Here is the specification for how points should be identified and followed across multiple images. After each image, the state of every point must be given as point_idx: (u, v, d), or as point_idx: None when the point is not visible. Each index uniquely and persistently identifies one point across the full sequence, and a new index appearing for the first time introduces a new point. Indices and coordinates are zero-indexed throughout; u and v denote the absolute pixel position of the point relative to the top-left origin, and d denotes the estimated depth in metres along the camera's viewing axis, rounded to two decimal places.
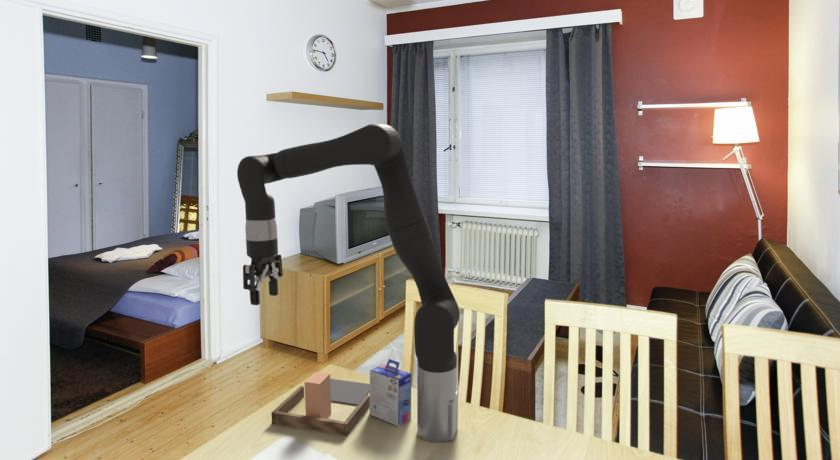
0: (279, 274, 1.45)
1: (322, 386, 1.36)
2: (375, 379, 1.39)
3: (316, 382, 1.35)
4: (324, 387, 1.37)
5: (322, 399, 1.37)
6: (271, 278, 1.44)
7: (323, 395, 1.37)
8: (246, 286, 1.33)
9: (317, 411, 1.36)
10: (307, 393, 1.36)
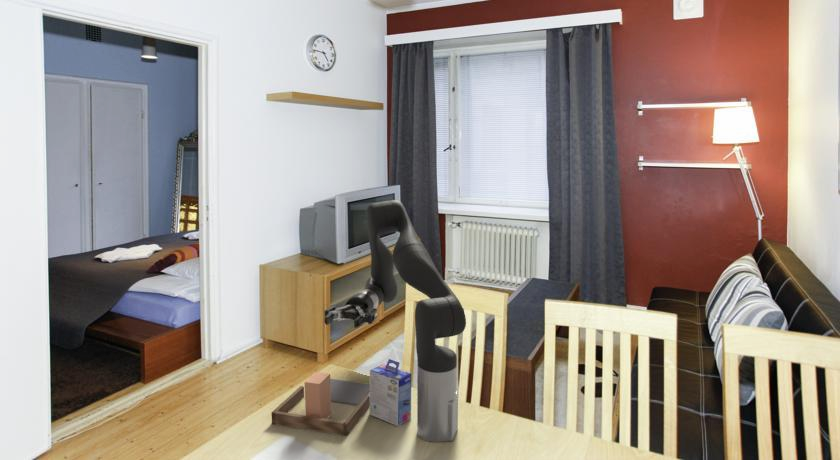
0: None
1: (322, 386, 1.36)
2: (375, 379, 1.39)
3: (316, 382, 1.35)
4: (324, 387, 1.37)
5: (322, 399, 1.37)
6: None
7: (323, 395, 1.37)
8: None
9: (317, 411, 1.36)
10: (307, 394, 1.36)
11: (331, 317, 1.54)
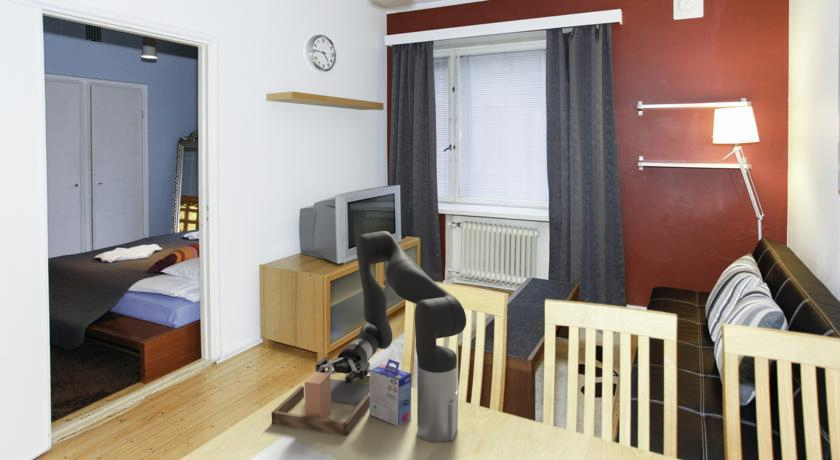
0: None
1: (322, 386, 1.36)
2: (375, 379, 1.39)
3: (316, 382, 1.35)
4: (324, 387, 1.37)
5: (322, 399, 1.37)
6: None
7: (323, 395, 1.37)
8: None
9: (317, 411, 1.36)
10: (307, 393, 1.36)
11: (322, 372, 1.50)
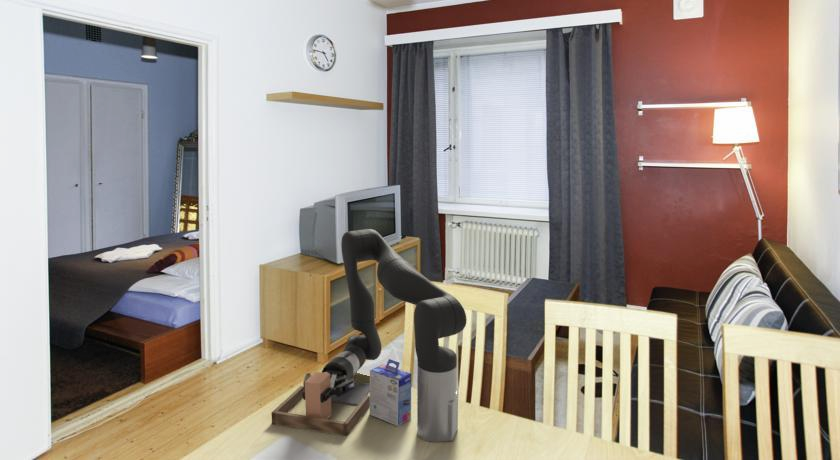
0: None
1: (322, 386, 1.36)
2: (375, 379, 1.39)
3: (316, 382, 1.35)
4: (324, 387, 1.37)
5: None
6: None
7: None
8: None
9: (317, 411, 1.36)
10: (307, 393, 1.36)
11: None
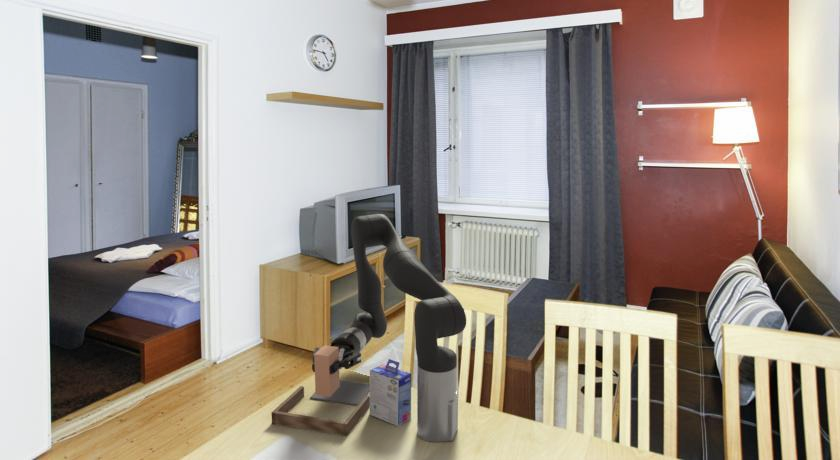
0: None
1: (331, 358, 1.41)
2: (375, 379, 1.39)
3: (326, 354, 1.40)
4: (333, 359, 1.42)
5: None
6: None
7: None
8: None
9: (326, 383, 1.40)
10: (317, 366, 1.40)
11: None
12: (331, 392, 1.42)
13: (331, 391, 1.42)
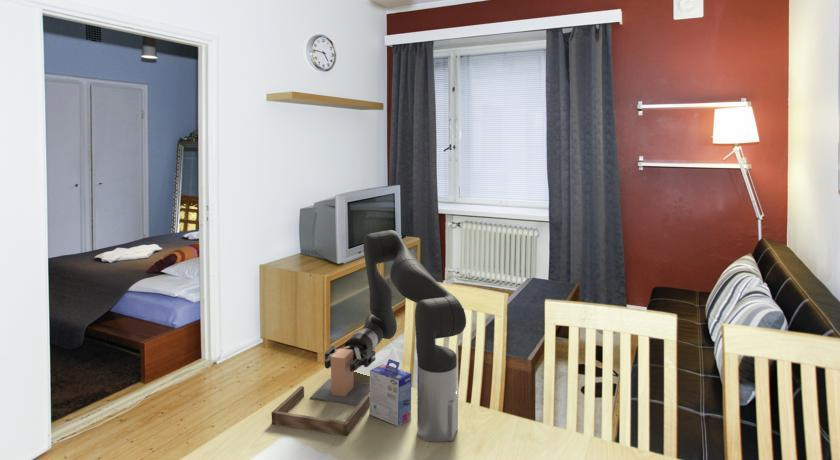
0: None
1: (346, 360, 1.50)
2: (375, 379, 1.39)
3: (341, 356, 1.49)
4: (348, 361, 1.51)
5: (346, 372, 1.51)
6: None
7: (347, 369, 1.51)
8: None
9: (341, 383, 1.50)
10: (333, 367, 1.50)
11: None
12: (346, 392, 1.51)
13: (346, 391, 1.51)
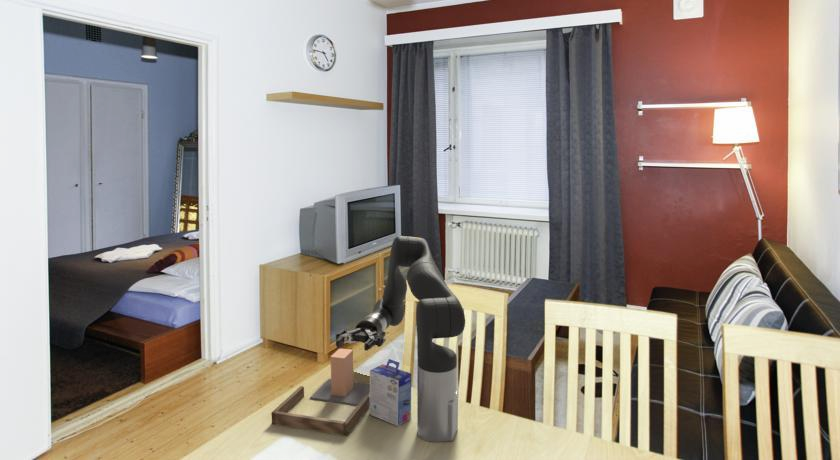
0: None
1: (346, 360, 1.50)
2: (375, 379, 1.39)
3: (341, 356, 1.49)
4: (348, 361, 1.51)
5: (346, 372, 1.51)
6: None
7: (347, 369, 1.51)
8: None
9: (341, 383, 1.50)
10: (333, 367, 1.50)
11: (342, 340, 1.62)
12: (346, 392, 1.51)
13: (346, 391, 1.51)
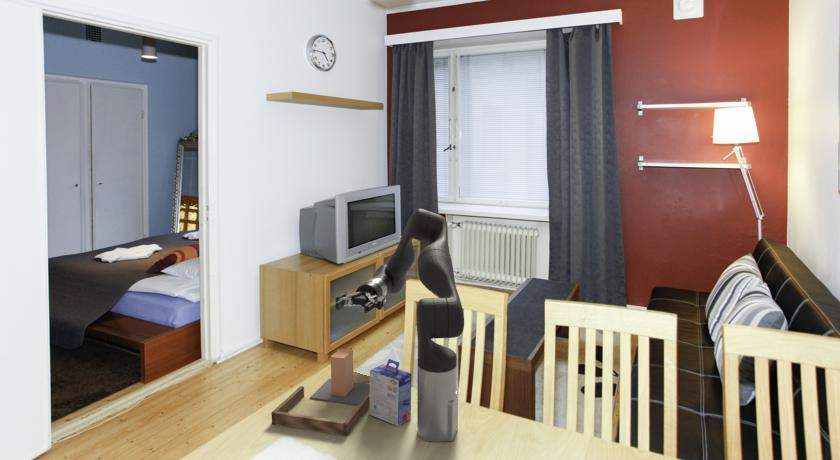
0: None
1: (346, 360, 1.50)
2: (375, 379, 1.39)
3: (341, 356, 1.49)
4: (348, 361, 1.51)
5: (346, 372, 1.51)
6: None
7: (347, 369, 1.51)
8: None
9: (341, 383, 1.50)
10: (333, 367, 1.50)
11: (342, 303, 1.60)
12: (346, 392, 1.51)
13: (346, 391, 1.51)
